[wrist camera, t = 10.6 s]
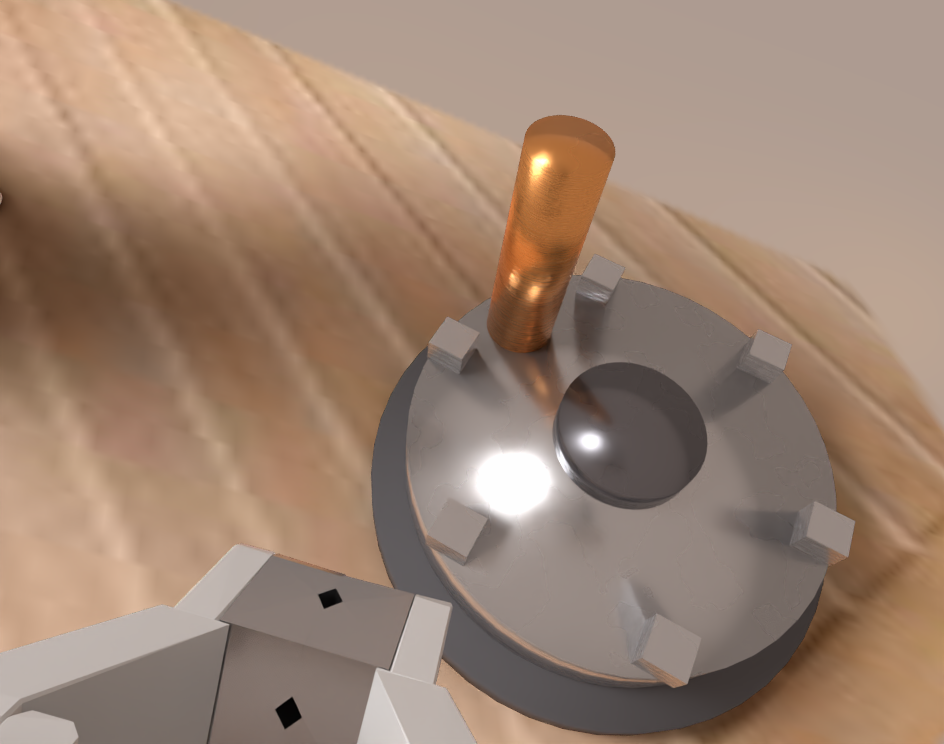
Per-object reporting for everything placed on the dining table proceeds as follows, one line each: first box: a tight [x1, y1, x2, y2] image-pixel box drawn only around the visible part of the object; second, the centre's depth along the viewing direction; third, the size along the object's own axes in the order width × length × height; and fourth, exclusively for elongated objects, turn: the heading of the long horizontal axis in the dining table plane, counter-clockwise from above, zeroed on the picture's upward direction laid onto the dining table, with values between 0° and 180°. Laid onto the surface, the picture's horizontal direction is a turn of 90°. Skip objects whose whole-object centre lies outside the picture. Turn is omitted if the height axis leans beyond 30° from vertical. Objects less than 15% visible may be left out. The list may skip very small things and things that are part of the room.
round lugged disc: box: [405, 115, 855, 688], centre depth 23 cm, size 18×18×13 cm
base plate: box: [371, 346, 824, 735], centre depth 30 cm, size 21×21×2 cm
